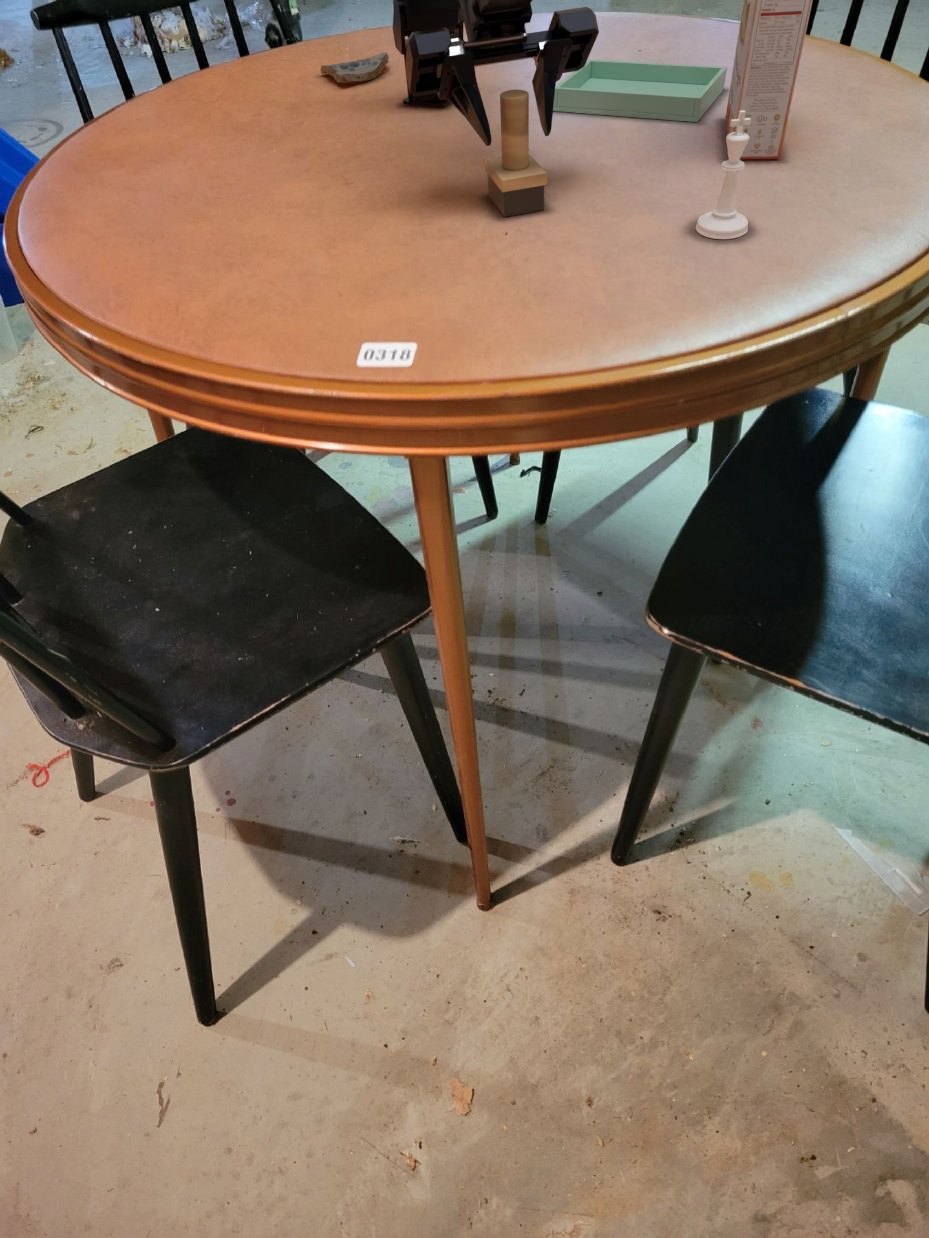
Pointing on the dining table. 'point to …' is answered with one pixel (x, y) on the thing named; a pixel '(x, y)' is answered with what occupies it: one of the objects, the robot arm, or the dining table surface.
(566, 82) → the tray
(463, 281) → the dining table surface
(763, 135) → the cracker box
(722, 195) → the chess piece
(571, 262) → the dining table surface
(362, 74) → the ceramic fragment
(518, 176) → the scrub brush
